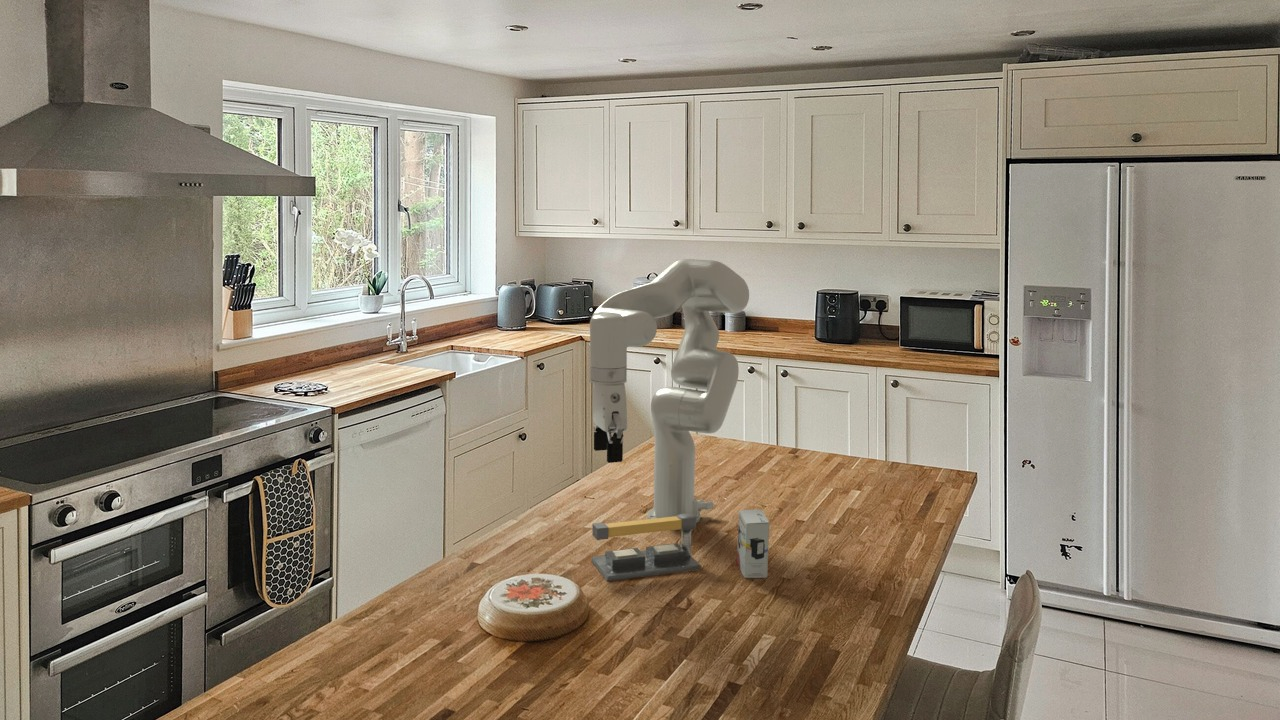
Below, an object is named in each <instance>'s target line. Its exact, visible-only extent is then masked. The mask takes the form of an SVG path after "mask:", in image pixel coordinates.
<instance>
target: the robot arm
mask: <svg viewBox="0 0 1280 720" xmlns="http://www.w3.org/2000/svg"><path fill="white" fill-rule="evenodd" d="M749 299H750V290H749V286H748V283H747V282H746V280H745V278H743V277H742V276H740V274H739V273H737V272H735V270H733V269H732V268H730V267H729V266H728V265H726V264H725V263H723V262H721V261H717V260H714V259H713V260H712V259H695V258H683V259H679V260H677V261H674V262H673V263H671V264H670V265H669V266H668V267H667V268H666V269H665V270H663V271H662V272H661V273H660V274H659V275H657V276H656V277H655V278H654V279H652V281H650V282H649V283H645V284H642V285H639V286H636V287H633V288H631V289H627V290H623V291H622V292H618V293H616V294H614V295H612V296H611V297H609V298H607V300H605V301H604V302H603V303H602V304H601V305H599V306H598V307H597V308H596V310H595V311H594V312H593V314H591V315H592V316H591V318H590V321H589V383H592V384H593V386H592V401H591V402H592V404H591V405H592V407H591V408H592V409H591V411H592V413H591V414H592V422H593V423H594V424H593V450H594V451H599V452H600V451H606V462H608V463H609V464H612V463H613V464H615V463H622V462H623V460H624V457H623V456H624V455H623V451H624V450H623V449H624V447H623V446H624V445H623V443H624V438H623V437H624V434H623V433H624V432H626V431H627V429H628V410H627V406H628V405H627V394H626V386H625V383H627V381H628V379H627V375H628V374H627V371H628V370H627V369H628V366H627V365H628V364H627V361H628V360H627V359H628V357H627V356H628V355H627V353H628V352H627V351H628V348H630V347H633V348H635V347H636V348H637V347H645V346H647V345H649V344H650V343H652V341H653V340H654V339H655V337H656V334H657V330H658V324H657V322H656V319H660V318H665V317H669V316H672V315H673V314H674V313H676V311H677V310H679V309H680V307H682V312H683V316H684V331H683V335H682V338H681V341H680V343H679V346H678V348H677V351H676V353H675V357H674V360H673V362H672V366H671V370H670V375H671V379H672V381H673V383H675V384H677V385H679V386H682V387H677V386H666V387H662V388H660V389H658V390H657V391H656V392H655V393H654V394H653V395H652V397H651V402H650V414H651V419H652V420H651V421H652V425H653V434H654V460H653V461H654V462H653V464H654V466H653V469H654V471H653V508H650V509H649V510H648V511H647V513H646V518H647V519H655V518H664V517H674V516H678V515H679V514H693V515H695V516H696V524H697V523H699V522H700V520H701V514H700V512H702V510H703V511H704V510H705V511H707V510H713V509H714V502H713V501H712V500H709V501H704V499H695V480H696V479H695V477H696V476H695V475H696V474H695V471H696V469H695V468H696V445H695V441H694V439H693V436H692V435H691V433H690V432H695V433H700V434H701V433H702V434H714V433H717V432H719V430H720V429H721V428H722V426H723V424H724V421H725V419H726V417H727V413H728V410H729V407H730V404H731V402H732V399H733V395H734V393H735V390H736V387H737V383H738V379H739V373H740V371H739V369H740V368H739V362H738V360H737V358H736V357H735V355H734V354H732V353H731V352H728V351H724V350H717V346H718V343H719V340H720V331H719V328H718V326H717V325H716V322H715V321H714V318H713V317H712V315H711V314H710V312H713V313H715V312H716V313H725V314H726V313H727V314H738V313H741V312H743V310H744V309H745V308H746V307H747V305H748V304H749ZM685 387H686V388H685ZM698 389H699V390H698ZM704 390H705V391H704Z"/></svg>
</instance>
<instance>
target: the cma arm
mask: <svg viewBox="0 0 1280 720" xmlns="http://www.w3.org/2000/svg"><path fill="white" fill-rule="evenodd" d="M696 527H697V523H696V516H695V515H693V514H679V515H678V516H674V517H664V518H655V519H646V518H645V519H639V520H629V521H627V520H626V521H619V522H618V521H617V522H610V523H609V522H608V523H605V522H594V523H592V536H593V537H594V538H595V539H596V541H600V540H608V539H609V538H613V537H622V536H630V535H639V534H648V533H649V534H651V533H657V532H658V533H659V532H666V531H675V530H681V531H682V530H691V531H692V530H695V529H696Z"/></svg>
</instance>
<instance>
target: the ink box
mask: <svg viewBox="0 0 1280 720" xmlns="http://www.w3.org/2000/svg"><path fill="white" fill-rule="evenodd" d="M737 528H738V529H737V531H738V532H737V550H736V551H737V554H736V555H737V556H736V563H737V565H738V567H739V569H740V571H741V574H742V577H743V578H744V579H762V578H764V579H766V578H767V577H768V571H769V570H768V566H769V564H768V563H769V543H770V541H769V540H770V521H769V519H768V518H767V515H766V514H765V512H764V511H763V510H762V509H758V508H757V509H741V510H740V509H739V510H738V527H737Z"/></svg>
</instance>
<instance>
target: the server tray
mask: <svg viewBox="0 0 1280 720" xmlns="http://www.w3.org/2000/svg"><path fill="white" fill-rule="evenodd" d="M680 537H681V539H680V540H681V541H680V543H681V544H679V543H677V542H676V543H675V542H674V543H667V544H659V545H652V546H645V550H644V549H643V550H640V549H639V548H638V547H634V548H625V549H616V550H607V551H604V555H596V556H594V555H593V556H591V562H592V564H593V565H594V566H595V567H596V568H597V570H598V571H599V573H600V574H601V575H602V577H603V578H604V579H605V580H606V582H612V581H620V580H629V579H635V578H643V577H651V576H658V575H659V576H660V575H666V574H675V573H682V572H690V571H697V570H701V563H699V562H698V561H697V560H696V559H695V558H694V557H693V556H692V546H691V545H692V530H682V529H681V536H680Z"/></svg>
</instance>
